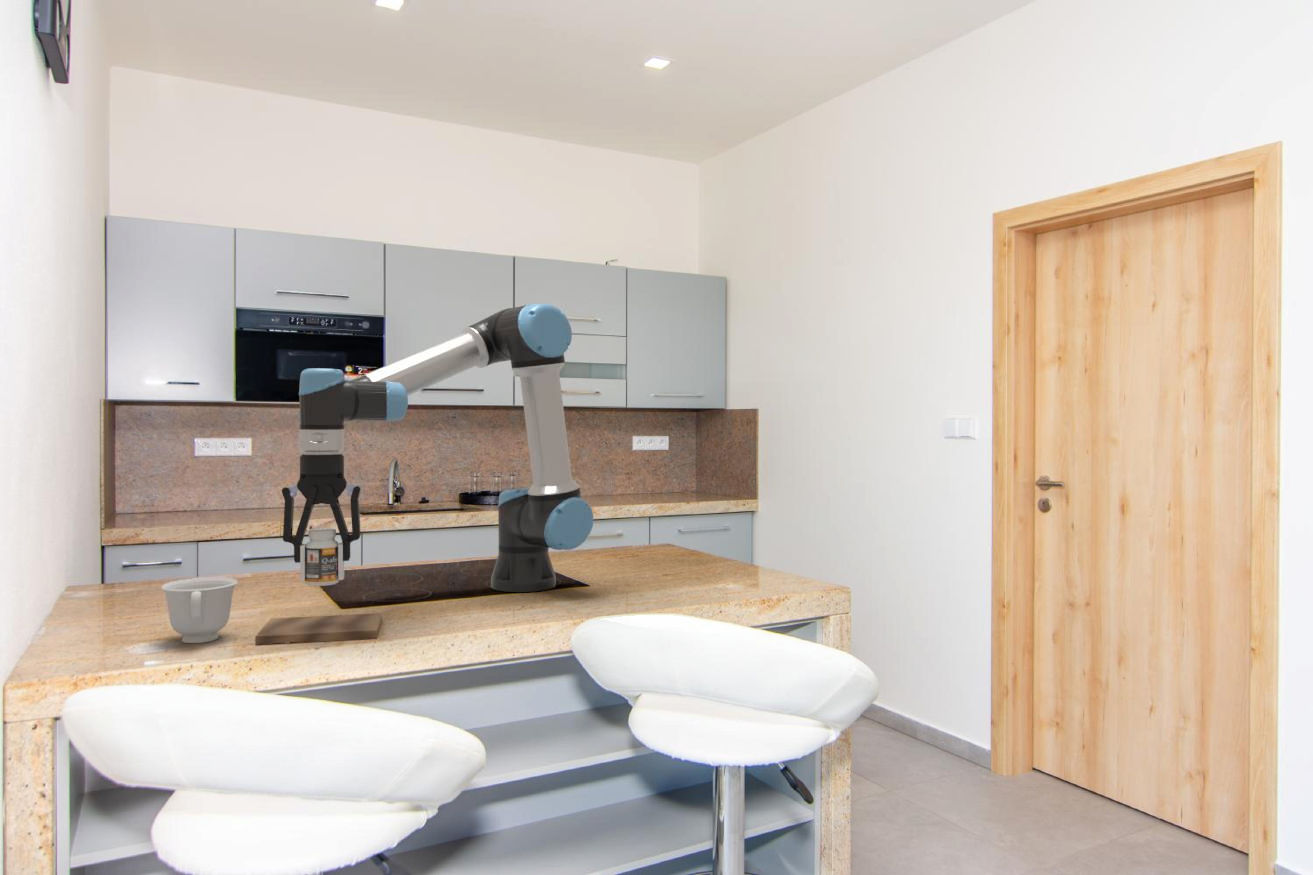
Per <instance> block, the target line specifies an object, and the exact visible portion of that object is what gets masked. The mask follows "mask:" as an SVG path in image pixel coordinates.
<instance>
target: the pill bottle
mask: <svg viewBox="0 0 1313 875" xmlns="http://www.w3.org/2000/svg"><path fill="white" fill-rule="evenodd" d="M336 537H337V530H336V529H335V528H313V529H309V530H308V538H309V541H308V542H307V543H306V544H307V545H306V581H305V583H306V585H307V586H312V587H313V586H314V587H323V586H332V585H336V584H338V583H339V582H340V580H338V544H339V542H338V541H337V540H336Z"/></svg>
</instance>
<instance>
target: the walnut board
mask: <svg viewBox="0 0 1313 875" xmlns="http://www.w3.org/2000/svg"><path fill="white" fill-rule="evenodd" d="M381 622H383V613H382V612H379V613H359V614H354V613H353V614H337V615H318V616H316V615H315V616H313V615H312V616H298V617H297V616H296V617H295V616H293V617H276V618H275V617H274V618H273V617H272V618H270V619H269V620H268V621H267V622H266V623H265V625H264V626H263V627H262V628H261V629H260V630H259V632H258V633H257V634H256V635H254V636H255V641H254V642H255V646H261V645H260V644H267V645H271V644H270V643H285V644H289V643H288V642H304V643H317V642H318V643H319V642H337V641H340V642H341V641H354V640H355V641H356V640H357V641H359V640H374V639H378V635H379V632H380V628H381V626H382V623H381ZM286 642H287V643H286Z"/></svg>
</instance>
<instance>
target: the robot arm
mask: <svg viewBox="0 0 1313 875" xmlns="http://www.w3.org/2000/svg"><path fill="white" fill-rule="evenodd" d="M570 323H571V322H569V319H568V318H567V316H566V314H565V313H564V312H563V311H561V309H559V307H557V306H555V305H553V304H551V303H550V304H549V303H546V302H545V303H535V302H534V303H530V304H527V305H526V304H524V305H520V306H516V307H510V308H504V309H501V310H500V311H498V312H495V313H494V314H492V315H489V316H488V317H485V318H484V319H481V320H480V321H477V322H475V323H474V324H472V325H469V326H466V327H464V328H463V329H462V330H461V333H460V334H459V335H457V336H455V337H452V338H449V339H447V340H446V341H442V342H440V343H438V344H435V345H433V346H431V347H428V348H426V349H423V350H421V351H418V352H416V353H413V354H411V355H409V356H406V357H403V358H401V359H399V360H397V361H394V362H392V363H389V364H386V365H385V366H382V367H380V368H377V369H374V370H372V371H370V372H368V373H365V374H363V375H361V376H357V377H355V378H353V379H351V380H349V379H347V380H346V379H345V376H344V372H343V370H342V369H337V368H324V367H323V368H320V367H317V368H313V367H312V368H305V369H303V370H302V371H301V373H300V376H299V377H300V378H299V386H298V387H299V391H298V396H299V450H300V452H302V454H301V455H300V456H299V478H298V481H297V483H296V484H294V485H291V486H290V485H289V486H286V487H283V488H282V489H281V494H282V497H283V499H284V509H283V525H282V526H283V530H282V531H283V532H282V540H283V542H284V543H289V544H291V545H293V561H294V563H296V564H298V563H300V564H299V565H300V568H299V570H300V573H299V574H300V582H306V545H307V543H303V541H304V537H305V534H306V532H307V528H308V526H309V525H308V524H309V522H310V519H311V517H312V512H313V509H314V507H315V505H319V504H324V505H329V506H330V509H331V511H332V514H333V517H334V521H335V523H336V527H337V529H338V533H339V536H340V538H341V542H338V580H339V581H343V580H344V579H345V562H347V561H350V559H351V544H352V542H355V541H358V540H359V539H360V538H361V534H362V533H361V516H360V501H359V499H360V494H361V491H362V486H361V485H353V484H350V483H348V482H347V480H346V478H345V456H344V455H343V454H342V453H341V452H343V451H344V450H345V449H344V448H345V446H344V445H345V442H344V441H345V429H344V428H345V424H344V423H346V422H352V421H353V422H357V421H358V422H359V421H361V422H382V421H383V422H393V421H401V420H402V419H403V418H405V416H406V414H407V411H408V408H409V407H408V406H409V396H410V395H411V396H412V395H413V394H415V393H417V392H420V391H422V390H425V389H427V388H428V387H431V386H433V385H437V384H438V383H440V382H442V381H444V380H448V379H449V378H452V377H454V376H456V375H458V374H460V373H463V372H466V371H468V370H469V369H473V368H474V367H477V368H480V369H482V368H485V367H488V366H490V365H493V364H497V363H501V362H508V361H510V363H511V364H510V365H511V370H512V371H513V372H515V374H517V375H518V376H519V379H520V387H521V394H522V403H523V404H522V405H523V411H524V412H523V413H524V420H525V426H526V427H525V429H526V435H527V436H526V437H527V443H528V452H529V459H530V467H531V475H532V485H531V487H529V488H528V487H527V488H516V489H507V490H503V491H502V492H501V493H499V497H498V504H497V509H498V510H497V511H498V512H497V513H498V555H497V559H496V561H495V565H494V567H493V571H492V574H491V577H490V588H491V589H492V590H495V591H499V592H500V591H501V592H509V593H531V592H538V591H539V592H541V591H546V590H550V589H553V588H556V584H557V580H556V579H557V577H556V573H555V572H556V571H555V569H554V567H553V564H552V563H553V562H552V559H551V558H550V553H549V549H552V550H556V551H562V550H564V551H569V550H570V551H571V550H573V549H574V550H575V549H576V548H578V547H580V546H581V545H582V544H584V543H585V542H586V541H587V538H588V537H589V536H590V534H591V531H592V529H593V526H594V513H593V510H592V508H591V505H590V504H588V502H587V501H586V500H585V499H584V498H583V499H582V496H581V486H580V484H579V483H578V482H576V481H575V480H574V479H573V478H572V469H571V468H572V467H571V461H570V453H569V445H568V444H569V442H568V436H567V435H568V434H567V429H566V428H567V426H566V420H565V419H566V417H565V410H564V403H563V402H564V401H563V395H562V394H563V392H562V386H561V385H562V384H561V377H560V371H561V370H562V369H563V368H564V366H565V365H566V361H565V359H566V358H565V353H566V352H567V351H568V349H569V346H570V345H571V343H572V339H573V338H572V336H573V333H572V332H573V331H572V327H571V324H570ZM345 490H346V491H347V495H348V497H350V515H351V516H350V517H351V528H352V529H351V530H352V531H351V533H350V532H349V529H348V527H347V526H348V525H347V524H346V519H345V518H344V514H343V510H342V508H341V504H340V500H339V498H340V497H341V495H342V493H343V492H344V491H345ZM298 491H299V492H300V494H301V495H302V496H303V497H304V499H305V503H304V505H303V506H304V507H303V510H302V514H301V517H300V520H299V523H298V527H297V529H296V533H295V535H293V531H294V529H293V528H294V513H295V512H294V510H295V509H294V508H295V507H294V506H295V497H296V496H297V492H298Z"/></svg>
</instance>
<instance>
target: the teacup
mask: <svg viewBox="0 0 1313 875" xmlns="http://www.w3.org/2000/svg"><path fill="white" fill-rule="evenodd" d="M238 583H239V581H238V580H237V579H235V578H232V577H224V576H223V577H220V576H219V577H217V576H216V577H214V576H213V577H212V576H210V577H194V578H187V579H180V580H179V579H178V580H173V581H170V582H166V583H164V584H162V585H161V586H160V589H161V590H162V591H163V592H164V594H165V597H166V603H167V612H168V617H169V618H168V619H169V621H170V625H171V628H172V630H174V631H175V632H176V633H178V634H179V635H182V637H181V638H182V639H181V642H182V643H184V644H203V643H209V642H213V641H216V640H217V639H219V633H218V632H219V631H221V630H222V629H224V627H226V625H227V624H228V622H229V619H230V614H231V607H232V603H233V602H232V601H233V600H232V599H233V594H234V590H235V587H236V585H238Z"/></svg>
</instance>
